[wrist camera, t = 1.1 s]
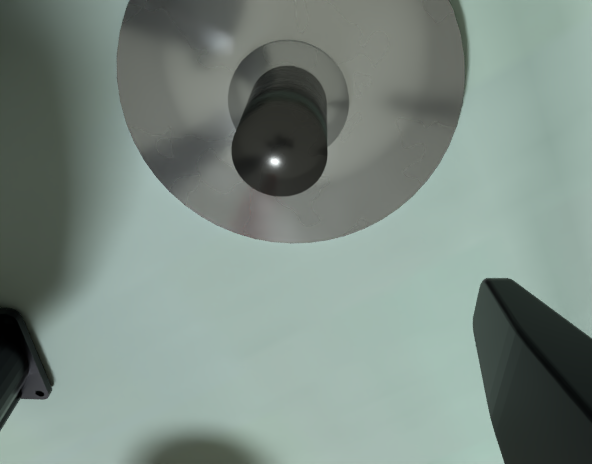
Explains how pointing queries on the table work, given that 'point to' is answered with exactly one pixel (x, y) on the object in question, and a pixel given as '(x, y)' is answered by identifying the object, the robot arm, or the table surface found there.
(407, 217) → the table surface
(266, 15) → the lid
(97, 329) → the table surface
